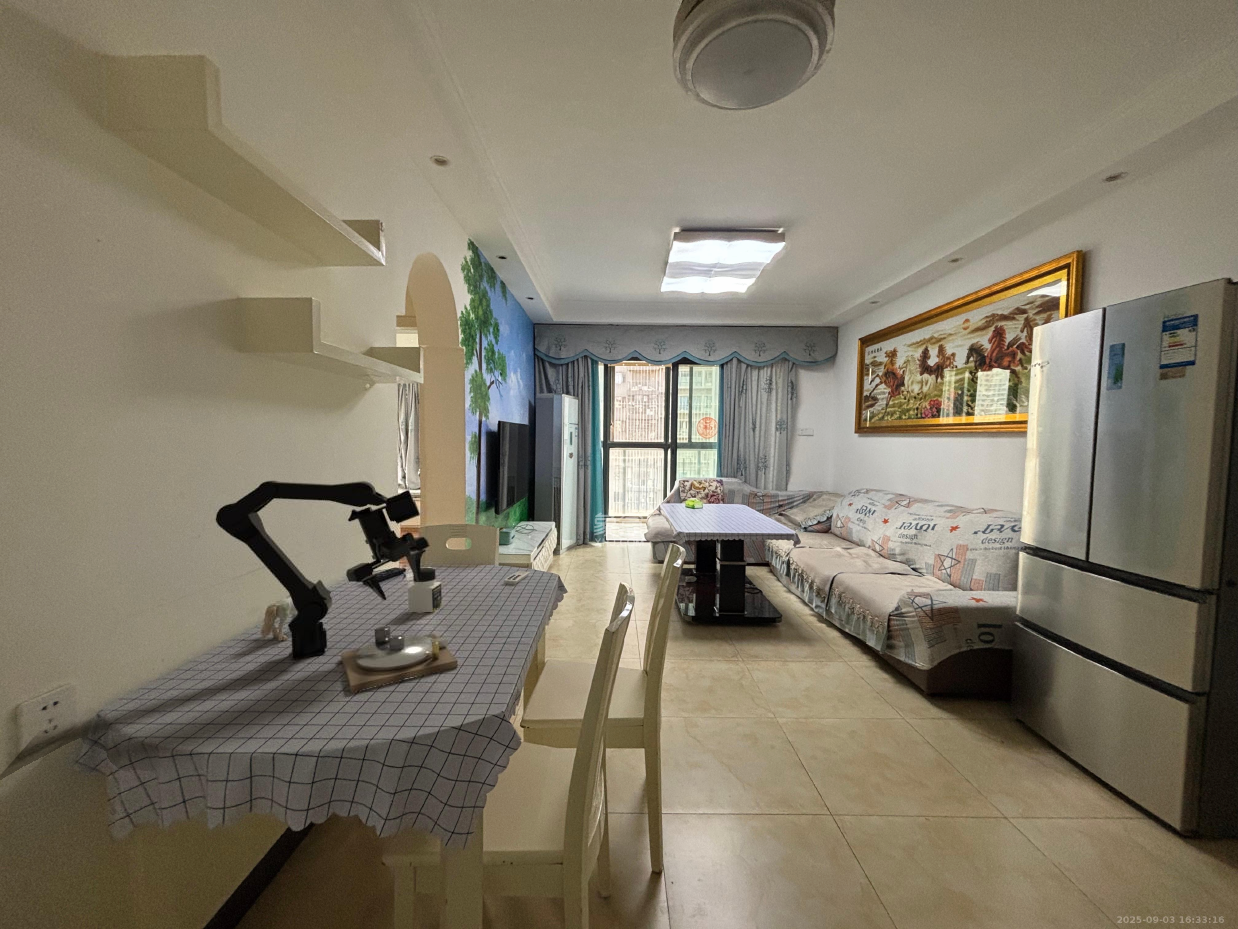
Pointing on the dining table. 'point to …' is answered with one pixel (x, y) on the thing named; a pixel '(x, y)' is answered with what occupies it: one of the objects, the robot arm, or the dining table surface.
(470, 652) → the dining table surface
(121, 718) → the dining table surface
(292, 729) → the dining table surface
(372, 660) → the flange plate
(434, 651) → the dowel
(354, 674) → the base board
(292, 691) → the dining table surface
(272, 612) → the unicorn figurine
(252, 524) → the robot arm
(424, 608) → the medicine bottle
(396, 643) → the post
